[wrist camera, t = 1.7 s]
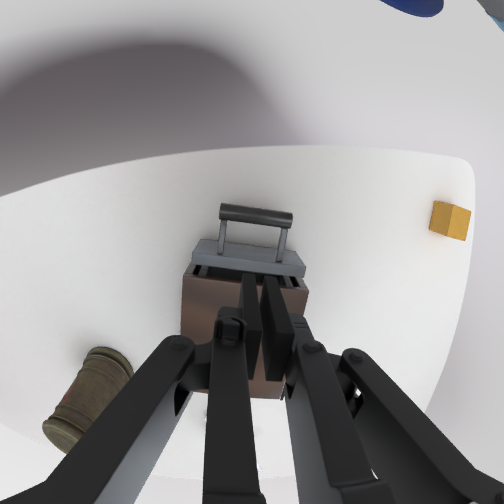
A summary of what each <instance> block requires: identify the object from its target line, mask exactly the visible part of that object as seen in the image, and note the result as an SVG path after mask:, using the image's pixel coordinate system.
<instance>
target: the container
mask: <svg viewBox="0 0 504 504" xmlns="http://www.w3.org/2000/svg"><path fill="white" fill-rule="evenodd" d="M132 376H133V370H132V368H131V366H130V364H129V362H128V361H127V360H126V359H125V358H124V357H123V356H122V355H121V354H120V353H118V352H116V351H114V350H112V349H110V348H106V347H97V348H94V349H93V350H91V351H90V352H89V353H88V355H87V357H86V359H85V360H84V362H83V367H82V369H81V370H79V372H78V374H77V377H76V379H75V380H74V382H73V383H72V385H71V386H70V388H69V389H68V391H67V392H66V394H65V395H64V397H63V398H62V400H61V402H60V403H59V405H57V406H56V408H55V412H54V413H53V415H51V416H50V417H49V418H48V420H45V421H44V422H43V425H42V429H43V432H44V434H45V435H46V437H47V438H48V439H49V440H50V441H51V442H52V443H53V444H54V445H55V446H56V447H57V448H58V449H60V450H61V451H63V452H64V453H66V454H68V452H69V451H70V450H71V449H72V448H73V446H74V445H75V444H76V443H77V442H78V440H79V439H80V438H81V437H82V436H83V434H84V433H85V432H86V431H87V430H88V428H89V427H90V426H91V425H92V424H93V422H94V421H95V420H96V419H97V418H98V416H99V415H100V414H101V413H102V412H103V410H104V409H105V408H106V407H107V406H108V404H109V403H110V402H111V401H112V400H113V398H114V397H115V396H116V395H117V394H118V393H119V391H120V390H121V389H122V388H123V387H124V385H125V384H126V383H127V382H128V381H129V380H130V378H131V377H132Z"/></svg>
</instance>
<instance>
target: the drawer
mask: <svg viewBox="0 0 504 504" xmlns="http://www.w3.org/2000/svg"><path fill="white" fill-rule="evenodd" d="M219 219H221V224H220V232H219V240H218V241H212V240H204V239H200V241H199V243H198V244H197V246H196V247H195V249H194V251H193V252H192V261H191V264H197V265H202V267H201V269H200V272H199V274H198V275H201V276H208V277H216V278H223V279H231V280H239V281H242V275H243V273H245V274H253V275H255V279H256V283H263V281H264V276H270V277H276V278H277V281H278V284H279V285H282V286H291V287H293V285H292V282H291V280H290V278H289V276H293V277H301V278H304V275H305V270H306V266H305V265H304V263H303V262H302V260H301V259H300V257H299V256H298V255H297V253H296V252H295V251H288V250H284V248H285V243H286V237H287V231H288V229H290V228H291V225H292V220H293V215H292V213H289V212H283V211H276V210H269V209H262V208H255V207H248V206H241V205H233V204H225V203H221V206H220V213H219ZM227 220H229V221H236V222H244V223H251V224H259V225H266V226H273V227H280V228H281V232H280V238H279V244H278V249H273V248H265V247H258V246H250V245H243V244H235V243H227V242H225V235H226V227H227Z"/></svg>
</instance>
